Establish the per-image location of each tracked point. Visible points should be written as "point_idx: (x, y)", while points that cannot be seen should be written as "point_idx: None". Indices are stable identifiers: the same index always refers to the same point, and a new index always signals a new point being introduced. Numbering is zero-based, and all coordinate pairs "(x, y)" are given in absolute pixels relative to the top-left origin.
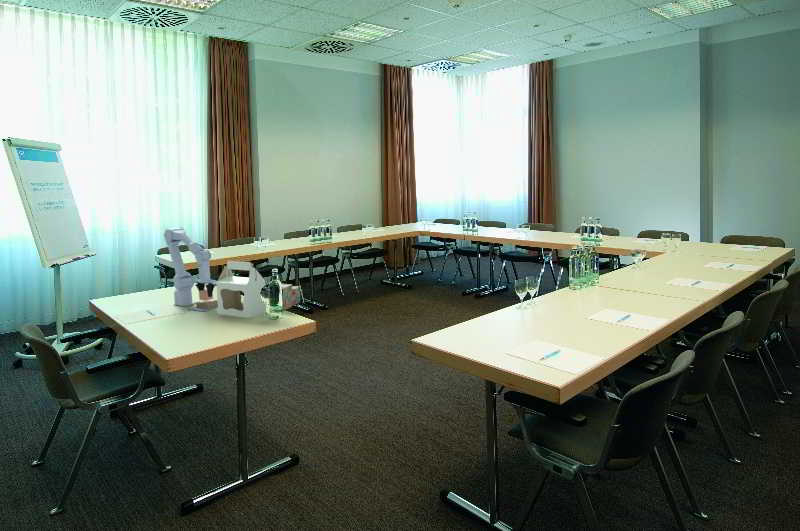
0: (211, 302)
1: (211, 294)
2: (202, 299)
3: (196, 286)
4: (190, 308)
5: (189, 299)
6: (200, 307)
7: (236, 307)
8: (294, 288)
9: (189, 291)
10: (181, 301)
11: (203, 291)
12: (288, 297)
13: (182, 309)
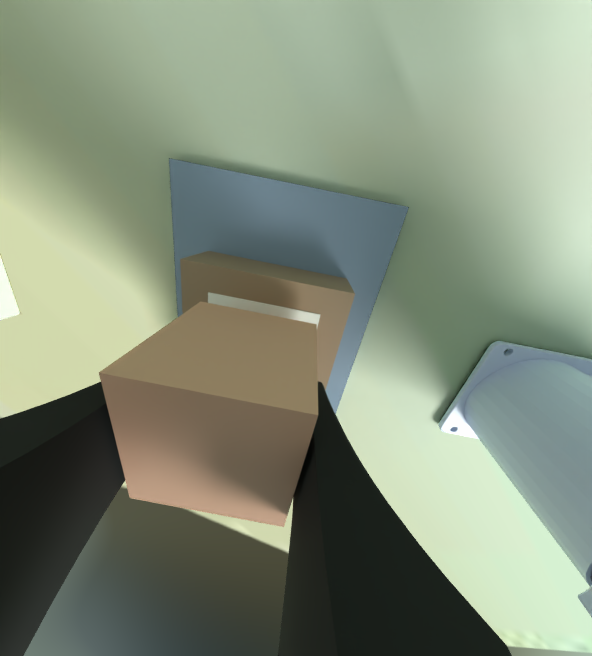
0: None
1: None
2: (265, 318)
3: (442, 590)
4: (391, 232)
5: (503, 418)
6: (294, 268)
7: (3, 315)
8: None
9: (581, 516)
10: (580, 378)
11: (171, 384)
12: None
13: (484, 223)
